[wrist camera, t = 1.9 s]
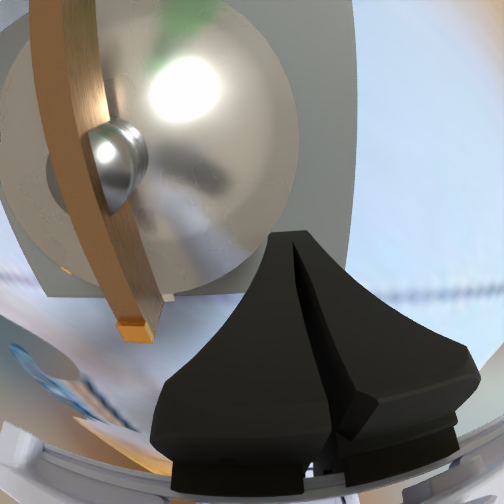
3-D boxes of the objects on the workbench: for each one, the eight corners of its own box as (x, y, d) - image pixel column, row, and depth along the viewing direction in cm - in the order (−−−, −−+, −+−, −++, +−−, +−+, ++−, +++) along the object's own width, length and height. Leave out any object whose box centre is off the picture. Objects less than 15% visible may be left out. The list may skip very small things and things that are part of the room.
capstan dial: (295, 270, 13) (307, 338, 10) (61, 281, 14) (31, 332, 11) (280, -36, 6) (296, -84, 3) (-7, 61, 6) (-67, 77, 3)
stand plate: (335, 270, 16) (342, 290, 14) (58, 284, 16) (47, 301, 15) (333, -44, 6) (344, -58, 5) (-12, 54, 7) (-32, 58, 6)
